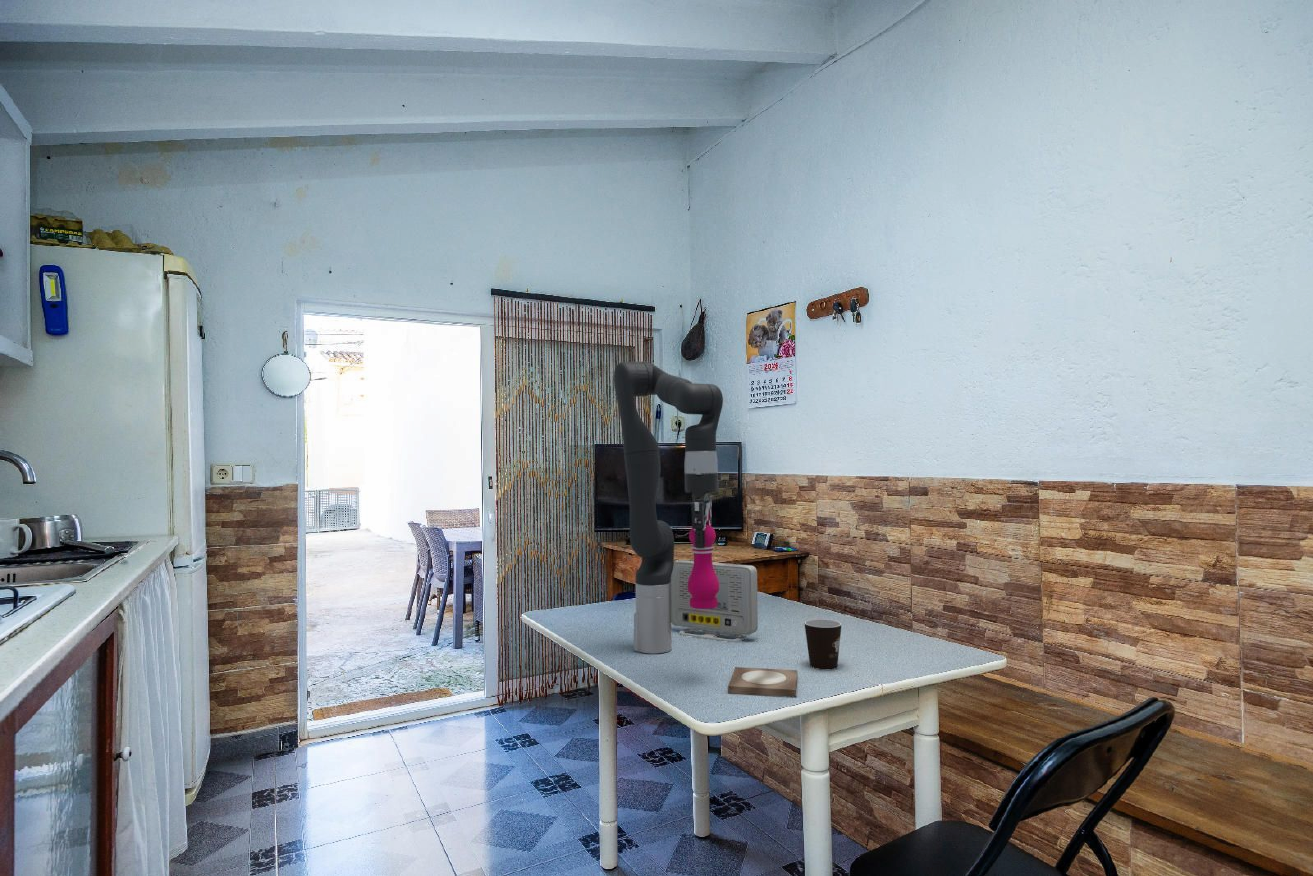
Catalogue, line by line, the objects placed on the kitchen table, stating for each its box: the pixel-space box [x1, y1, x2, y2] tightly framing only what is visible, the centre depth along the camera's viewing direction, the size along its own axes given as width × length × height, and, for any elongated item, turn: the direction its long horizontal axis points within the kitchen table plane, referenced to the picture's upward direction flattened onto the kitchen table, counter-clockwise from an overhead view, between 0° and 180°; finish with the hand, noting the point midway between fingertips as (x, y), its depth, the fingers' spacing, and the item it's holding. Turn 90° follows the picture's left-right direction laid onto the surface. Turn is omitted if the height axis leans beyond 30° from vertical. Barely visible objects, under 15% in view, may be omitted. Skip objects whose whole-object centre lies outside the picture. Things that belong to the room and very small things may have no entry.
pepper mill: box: [687, 521, 720, 609], centre depth 161 cm, size 7×7×20 cm
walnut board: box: [727, 666, 798, 698], centre depth 156 cm, size 14×14×2 cm
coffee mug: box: [804, 618, 843, 670], centre depth 171 cm, size 12×9×10 cm
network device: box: [671, 559, 759, 643], centre depth 200 cm, size 26×9×20 cm, turn 58°
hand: (702, 545), depth 162 cm, fingers closed on pepper mill, 6 cm apart
